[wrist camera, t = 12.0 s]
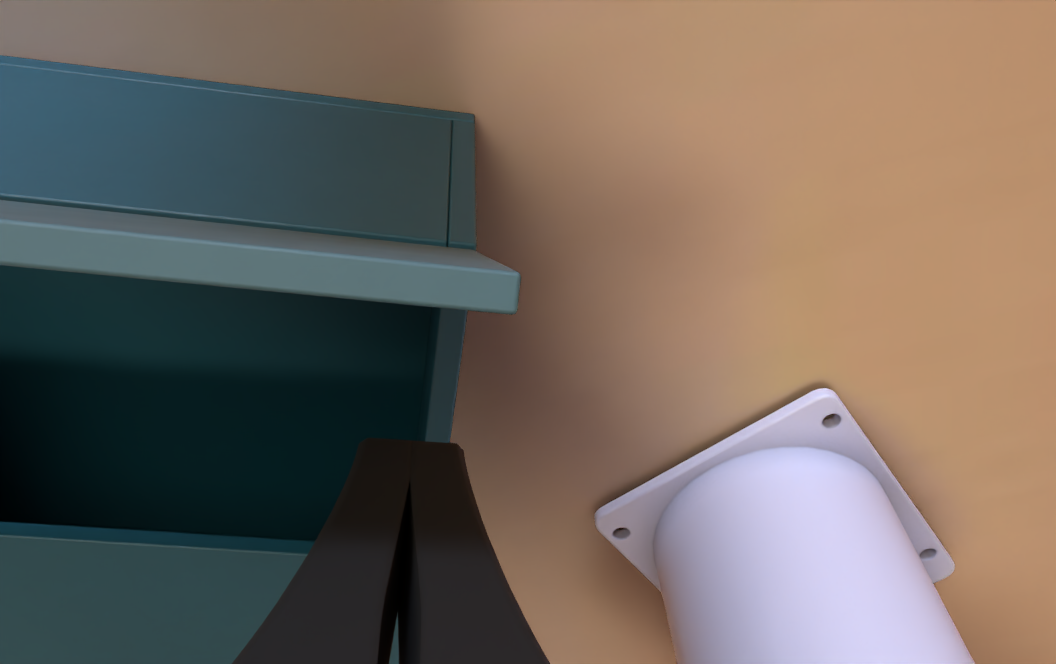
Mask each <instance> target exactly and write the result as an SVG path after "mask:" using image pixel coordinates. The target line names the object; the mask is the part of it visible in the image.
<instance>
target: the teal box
mask: <svg viewBox="0 0 1056 664" xmlns="http://www.w3.org/2000/svg"><path fill="white" fill-rule="evenodd" d="M0 200H6V201H15V202H25V203H34V204H44V205H53V206H62V207H72V208H81V209H91V210H100V211H110V212H119V213H129V214H138V215H148V216H157V217H167V218H176V219H186V220H195V221H205V222H214V223H223V224H233V225H242V226H252V227H261V228H271V229H280V230H290V231H299V232H309V233H318V234H328V235H337V236H347V237H356V238H366V239H375V240H384V241H394V242H403V243H413V244H422V245H432V246H441V247H451V248H460V249H470V250H474V251H476V247H477V232H476V165H475V116H474V115H473V114H468V113H460V112H452V111H444V110H436V109H428V108H420V107H411V106H403V105H395V104H387V103H379V102H371V101H363V100H355V99H347V98H339V97H331V96H323V95H315V94H307V93H299V92H291V91H283V90H275V89H267V88H259V87H251V86H243V85H235V84H227V83H219V82H211V81H203V80H195V79H187V78H179V77H171V76H163V75H155V74H147V73H138V72H130V71H122V70H114V69H106V68H98V67H90V66H82V65H74V64H66V63H58V62H50V61H42V60H34V59H26V58H18V57H10V56H2V55H0ZM467 313H468V310H458V309H447V308H437V307H427V306H417V305H406V304H396V303H386V302H375V301H365V300H355V299H344V298H334V297H324V296H314V295H303V294H293V293H283V292H272V291H262V290H252V289H241V288H231V287H221V286H210V285H200V284H190V283H180V282H169V281H159V280H149V279H138V278H128V277H118V276H107V275H97V274H87V273H77V272H66V271H56V270H46V269H35V268H25V267H15V266H4V265H0V664H232V663H233V661H234V660H235V659H236V658H237V656H238V655H239V654H240V652H241V651H242V650H243V649H244V647H245V646H246V645H247V643H248V642H249V641H250V639H251V638H252V637H253V635H254V634H255V633H256V631H257V630H258V629H259V627H260V626H261V625H262V623H263V622H264V620H265V619H266V617H267V616H268V615H269V613H270V612H271V610H272V609H273V608H274V606H275V605H276V603H277V602H278V600H279V599H280V597H281V596H282V594H283V592H284V591H285V589H286V588H287V586H288V585H289V583H290V582H291V580H292V578H293V577H294V575H295V574H296V572H297V571H298V569H299V568H300V566H301V564H302V563H303V561H304V560H305V558H306V556H307V555H308V553H309V551H310V550H311V548H312V546H313V544H314V543H315V541H316V539H317V537H318V535H319V533H320V532H321V530H322V528H323V526H324V524H325V523H326V521H327V519H328V517H329V515H330V513H331V512H332V510H333V508H334V506H335V503H336V501H337V499H338V497H339V495H340V493H341V491H342V489H343V487H344V484H345V482H346V480H347V478H348V475H349V473H350V470H351V467H352V465H353V462H354V459H355V456H356V453H357V449H358V445H359V443H360V442H362V441H363V440H365V439H366V438H382V439H397V440H412V441H428V442H443V443H450V438H451V430H452V423H453V416H454V408H455V401H456V394H457V386H458V379H459V372H460V365H461V357H462V350H463V343H464V335H465V328H466V321H467ZM389 664H399V646H398V613H397V619H396V625H395V631H394V637H393V643H392V649H391V655H390V660H389Z"/></svg>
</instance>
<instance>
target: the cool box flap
mask: <svg viewBox="0 0 1056 664" xmlns="http://www.w3.org/2000/svg"><path fill="white" fill-rule="evenodd" d="M0 265H4V266H15V267H25V268H35V269H46V270H56V271H66V272H77V273H87V274H97V275H107V276H118V277H128V278H138V279H149V280H159V281H169V282H180V283H190V284H200V285H210V286H221V287H231V288H241V289H252V290H262V291H272V292H283V293H293V294H303V295H314V296H324V297H334V298H344V299H355V300H365V301H375V302H386V303H396V304H406V305H417V306H427V307H437V308H447V309H458V310H468V311H478V312H489V313H499V314H509V315H512V314H516V312H517V310H518V302H519V292H520V283H521V275H520V273H518V272H517V271H515V270H513V269H511V268H509V267H507V266H505V265H503V264H501V263H499V262H497V261H495V260H493V259H490V258H488V257H486V256H484V255H482V254H480V253H478V252H476V251H474V250H470V249H460V248H451V247H441V246H432V245H422V244H413V243H403V242H394V241H384V240H375V239H366V238H356V237H347V236H337V235H328V234H318V233H309V232H299V231H290V230H280V229H271V228H261V227H252V226H242V225H233V224H223V223H214V222H205V221H195V220H186V219H176V218H167V217H157V216H148V215H138V214H129V213H119V212H110V211H100V210H91V209H81V208H72V207H62V206H53V205H44V204H34V203H25V202H15V201H6V200H0Z"/></svg>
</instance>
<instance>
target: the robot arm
mask: <svg viewBox="0 0 1056 664" xmlns="http://www.w3.org/2000/svg"><path fill="white" fill-rule="evenodd" d="M830 414H835V415H834V416H833V417H831V418H829V419H824V418H825V417H826V416H827V415H830ZM594 519H595V526H596V528H597V530H598V531H599V532H600V533H601V534H602V535H603V536H604V537H605V538H606V539H607V540H608V541H609V542H610V543H611V544H612V545H613V546H614V547H615V548H616V549H617V550H618V551H619V552H620V553H621V554H622V555H623V556H624V557H625V558H627V559H628V560H629V561H630V562H631V563H632V564H633V565H634V566H635V567H636V568H637V569H638V570H639V571H640V572H641V573H642V574H643V575H644V576H645V577H646V578H647V579H648V580H649V581H650V582H651V583H652V584H653V585H654V586H655V587H656V588H657V589H658V590H659V591H660V592H661V593H662V596H663V601H664V606H665V610H666V615H667V620H668V624H669V629H670V634H671V638H672V643H673V648H674V652H675V657H676V661H677V664H975V663H974V661H973V659H972V657H971V655H970V653H969V651H968V649H967V648H966V646H965V644H964V642H963V640H962V638H961V636H960V634H959V632H958V630H957V628H956V626H955V625H954V623H953V621H952V619H951V617H950V615H949V613H948V611H947V609H946V607H945V605H944V604H943V602H942V600H941V598H940V596H939V594H938V592H937V590H936V588H935V586H934V583H936V582H938V581H940V580H942V579H944V578H946V577H948V576H950V575H951V574H952V572H953V571H954V569H955V564H954V562H953V560H952V558H951V556H950V555H949V553H948V552H947V550H946V549H945V548H944V546H943V545H942V543H941V542H940V541H939V539H938V538H937V536H936V535H935V533H934V532H933V531H932V529H931V528H930V526H929V525H928V523H927V522H926V521H925V519H924V518H923V516H922V515H921V514H920V512H919V511H918V509H917V508H916V506H915V505H914V504H913V502H912V501H911V499H910V498H909V496H908V495H907V494H906V492H905V491H904V489H903V488H902V487H901V485H900V484H899V482H898V481H897V479H896V478H895V477H894V475H893V474H892V472H891V471H890V469H889V468H888V467H887V465H886V464H885V462H884V461H883V460H882V458H881V457H880V455H879V454H878V452H877V451H876V450H875V448H874V447H873V445H872V444H871V442H870V441H869V440H868V438H867V437H866V435H865V434H864V433H863V431H862V430H861V428H860V427H859V425H858V424H857V423H856V421H855V420H854V418H853V417H852V415H851V414H850V413H849V411H848V410H847V408H846V407H845V405H844V404H843V403H842V401H841V400H840V398H839V397H838V396H837V394H836V393H835V392H834V391H833V390H830V389H827V388H821V389H816V390H814V391H811V392H810V393H808V394H806V395H804V396H802V397H800V398H799V399H797V400H795V401H793V402H791V403H790V404H788V405H786V406H784V407H782V408H780V409H779V410H777V411H775V412H773V413H771V414H770V415H768V416H766V417H764V418H762V419H760V420H759V421H757V422H755V423H753V424H751V425H750V426H748V427H746V428H744V429H742V430H740V431H739V432H737V433H735V434H733V435H731V436H729V437H728V438H726V439H724V440H722V441H720V442H719V443H717V444H715V445H713V446H711V447H709V448H708V449H706V450H704V451H702V452H700V453H699V454H697V455H695V456H693V457H691V458H689V459H688V460H686V461H684V462H682V463H680V464H679V465H677V466H675V467H673V468H671V469H669V470H668V471H666V472H664V473H662V474H660V475H659V476H657V477H655V478H653V479H651V480H649V481H648V482H646V483H644V484H642V485H640V486H639V487H637V488H635V489H633V490H631V491H629V492H628V493H626V494H624V495H622V496H620V497H619V498H617V499H615V500H613V501H611V502H609V503H608V504H606V505H604V506H602V507H601V508H599V509H598V510H597V511H596V513H595V515H594ZM621 527H622V528H625V529H622V530H616V529H617V528H621ZM397 613H398V646H399V664H550V663H549V661H548V659H547V657H546V656H545V654H544V652H543V651H542V649H541V647H540V645H539V643H538V642H537V640H536V638H535V636H534V634H533V632H532V631H531V629H530V627H529V625H528V623H527V621H526V619H525V617H524V615H523V613H522V611H521V609H520V607H519V605H518V603H517V601H516V599H515V597H514V595H513V593H512V591H511V589H510V587H509V584H508V582H507V580H506V578H505V576H504V573H503V571H502V569H501V566H500V564H499V562H498V559H497V557H496V554H495V552H494V549H493V547H492V545H491V542H490V540H489V537H488V535H487V532H486V529H485V527H484V524H483V521H482V519H481V516H480V513H479V510H478V507H477V504H476V500H475V497H474V494H473V491H472V487H471V484H470V480H469V476H468V472H467V467H466V463H465V457H464V450H463V449H462V448H461V447H460V446H459V445H458V444H457V443H443V442H428V441H412V440H397V439H382V438H366V439H365V440H363V441H362V442H360V443H359V445H358V449H357V453H356V456H355V459H354V462H353V465H352V467H351V470H350V473H349V475H348V478H347V480H346V482H345V484H344V487H343V489H342V491H341V493H340V495H339V497H338V499H337V501H336V503H335V506H334V508H333V510H332V512H331V513H330V515H329V517H328V519H327V521H326V523H325V524H324V526H323V528H322V530H321V532H320V533H319V535H318V537H317V539H316V541H315V543H314V544H313V546H312V548H311V550H310V551H309V553H308V555H307V556H306V558H305V560H304V561H303V563H302V564H301V566H300V568H299V569H298V571H297V572H296V574H295V575H294V577H293V578H292V580H291V582H290V583H289V585H288V586H287V588H286V589H285V591H284V592H283V594H282V596H281V597H280V599H279V600H278V602H277V603H276V605H275V606H274V608H273V609H272V610H271V612H270V613H269V615H268V616H267V617H266V619H265V620H264V622H263V623H262V625H261V626H260V627H259V629H258V630H257V631H256V633H255V634H254V635H253V637H252V638H251V639H250V641H249V642H248V643H247V645H246V646H245V647H244V649H243V650H242V651H241V652H240V654H239V655H238V656H237V658H236V659H235V660H234V661H233V663H232V664H389V660H390V655H391V649H392V643H393V637H394V631H395V625H396V619H397Z"/></svg>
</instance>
